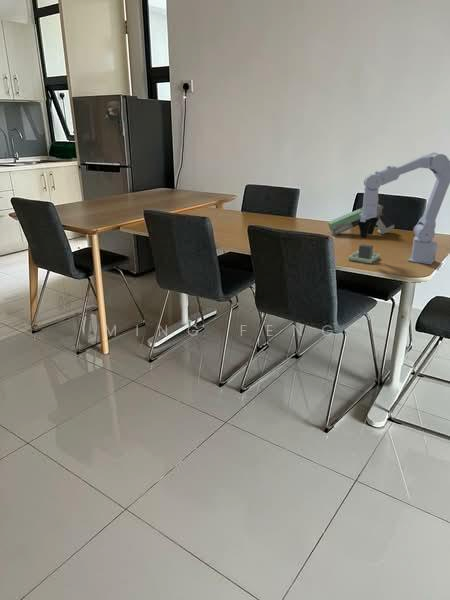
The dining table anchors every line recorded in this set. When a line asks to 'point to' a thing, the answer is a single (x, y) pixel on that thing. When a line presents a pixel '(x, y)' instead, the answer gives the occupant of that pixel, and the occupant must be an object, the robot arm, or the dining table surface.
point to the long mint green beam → (352, 218)
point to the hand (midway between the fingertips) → (366, 235)
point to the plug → (364, 251)
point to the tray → (362, 260)
